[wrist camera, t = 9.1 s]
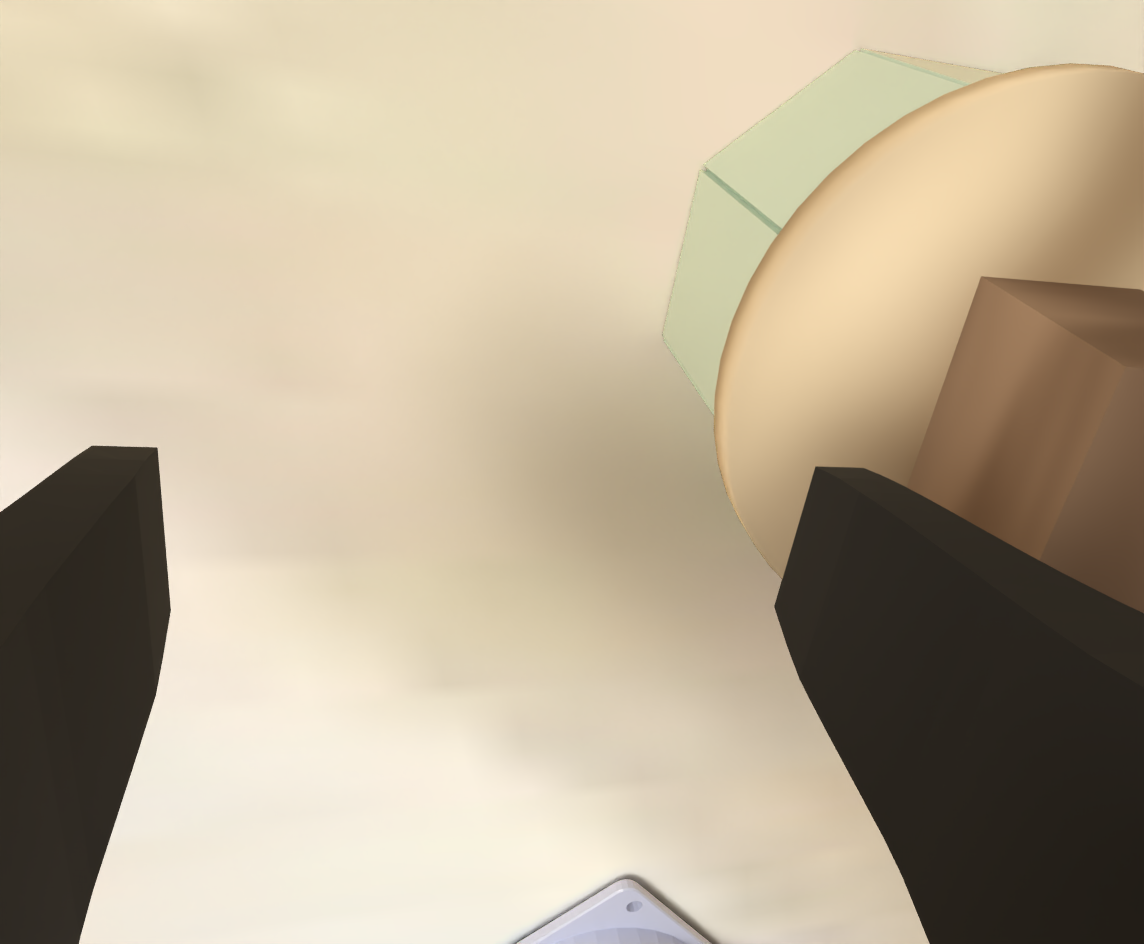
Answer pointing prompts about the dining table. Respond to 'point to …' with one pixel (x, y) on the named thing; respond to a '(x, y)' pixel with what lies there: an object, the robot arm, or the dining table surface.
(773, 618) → the dining table surface
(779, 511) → the oak lid
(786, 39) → the dining table surface
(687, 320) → the green bowl
